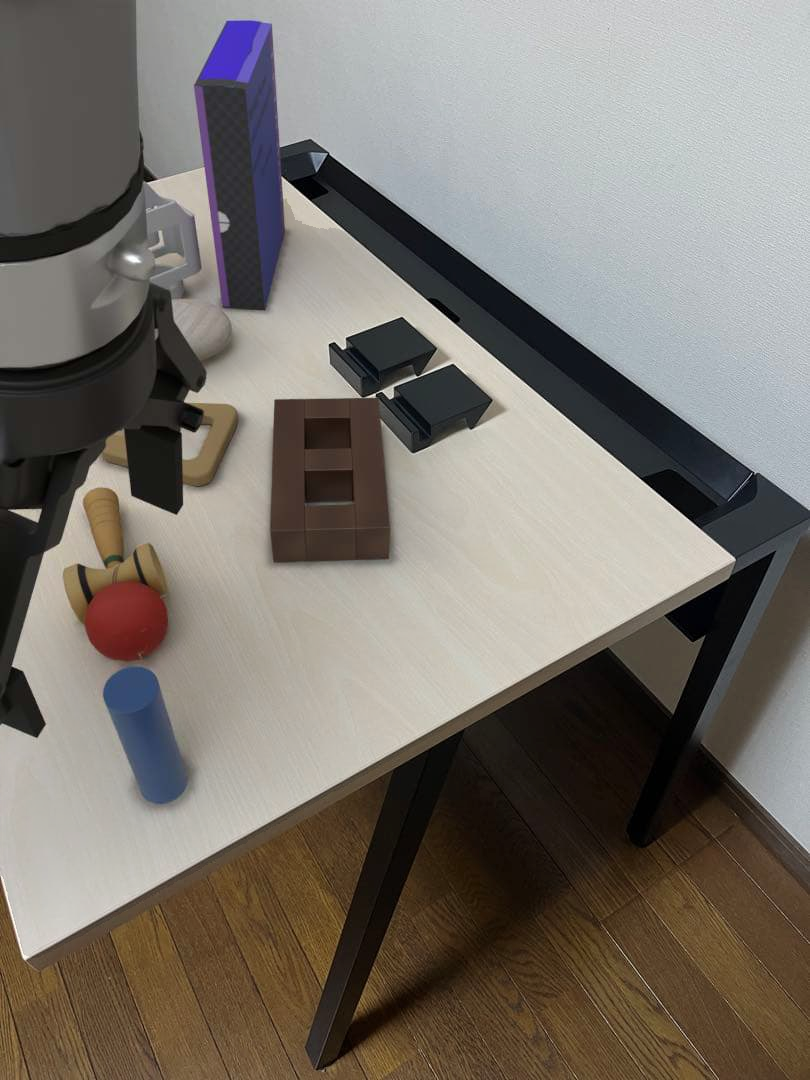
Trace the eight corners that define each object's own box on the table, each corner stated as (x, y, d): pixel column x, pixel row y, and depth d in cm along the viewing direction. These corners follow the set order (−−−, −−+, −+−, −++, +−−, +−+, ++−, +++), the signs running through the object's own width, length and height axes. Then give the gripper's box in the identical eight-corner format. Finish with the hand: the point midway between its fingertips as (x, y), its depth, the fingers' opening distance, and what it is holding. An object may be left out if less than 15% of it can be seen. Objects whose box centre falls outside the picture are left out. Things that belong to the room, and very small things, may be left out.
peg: (137, 805, 59) (98, 713, 50) (142, 762, 61) (106, 666, 52) (185, 802, 59) (155, 711, 50) (189, 759, 61) (161, 664, 53)
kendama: (53, 538, 76) (77, 686, 64) (47, 478, 73) (71, 622, 60) (144, 528, 79) (185, 668, 67) (143, 470, 76) (185, 606, 63)
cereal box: (247, 229, 110) (226, 18, 92) (285, 232, 110) (271, 21, 92) (222, 307, 99) (193, 83, 81) (264, 310, 99) (245, 86, 81)
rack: (273, 562, 74) (270, 530, 71) (277, 431, 85) (274, 399, 82) (388, 559, 75) (390, 527, 72) (377, 429, 86) (378, 397, 83)
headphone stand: (209, 489, 79) (171, 272, 63) (93, 472, 80) (25, 254, 64) (241, 415, 86) (215, 203, 70) (134, 400, 87) (83, 187, 71)
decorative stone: (226, 322, 97) (221, 282, 93) (242, 370, 91) (237, 329, 87) (107, 339, 94) (96, 298, 90) (115, 390, 88) (105, 349, 84)
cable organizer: (209, 295, 100) (195, 195, 91) (114, 337, 94) (89, 233, 85) (176, 271, 103) (159, 171, 94) (81, 310, 97) (54, 207, 88)
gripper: (-141, 694, 19) (19, 871, 37) (301, 122, 33) (263, 452, 51) (-448, 564, 20) (-142, 802, 37) (119, 47, 33) (145, 403, 51)
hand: (92, 601), depth 44 cm, fingers open, 13 cm apart
